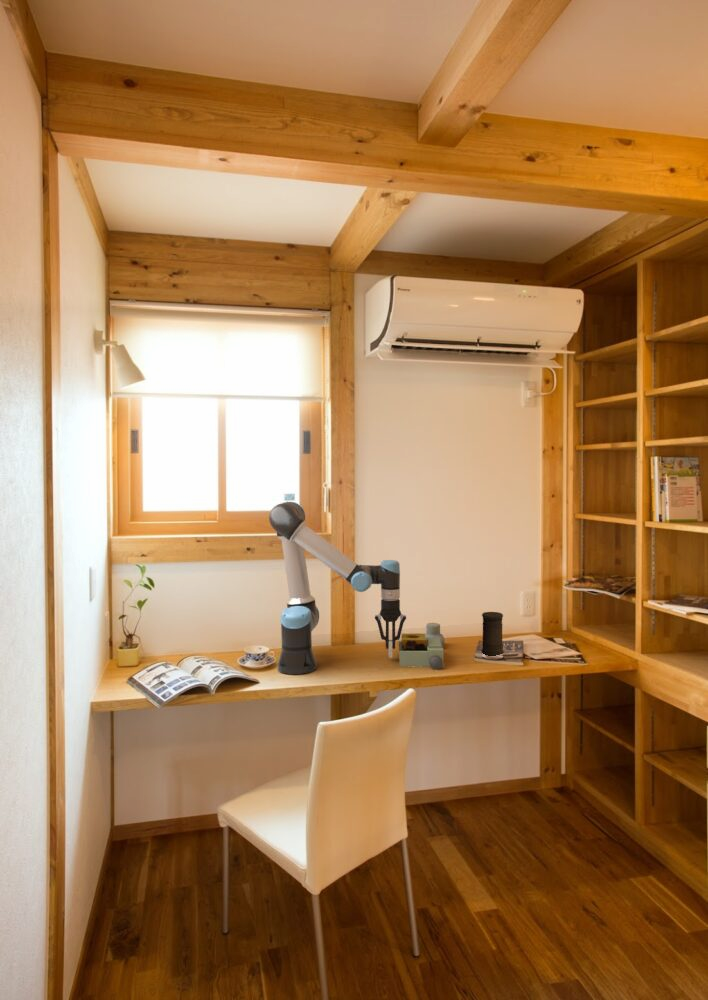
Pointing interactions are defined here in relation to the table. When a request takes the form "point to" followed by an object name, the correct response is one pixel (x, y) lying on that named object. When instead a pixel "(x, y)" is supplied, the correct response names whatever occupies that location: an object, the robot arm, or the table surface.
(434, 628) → the air freshener
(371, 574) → the robot arm
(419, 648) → the olive cube with hole
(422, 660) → the green toy truck
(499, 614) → the container
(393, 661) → the table surface
